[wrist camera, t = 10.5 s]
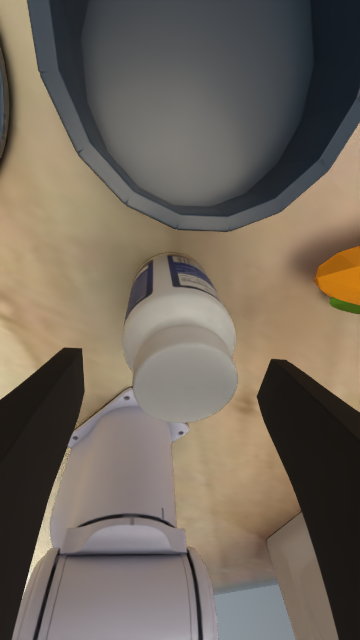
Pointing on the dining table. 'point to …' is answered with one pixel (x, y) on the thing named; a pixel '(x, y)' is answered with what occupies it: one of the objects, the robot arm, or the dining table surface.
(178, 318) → the pill bottle
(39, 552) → the dining table surface
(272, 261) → the dining table surface
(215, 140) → the pot
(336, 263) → the corn
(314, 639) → the paper bag
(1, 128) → the lid
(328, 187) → the dining table surface
